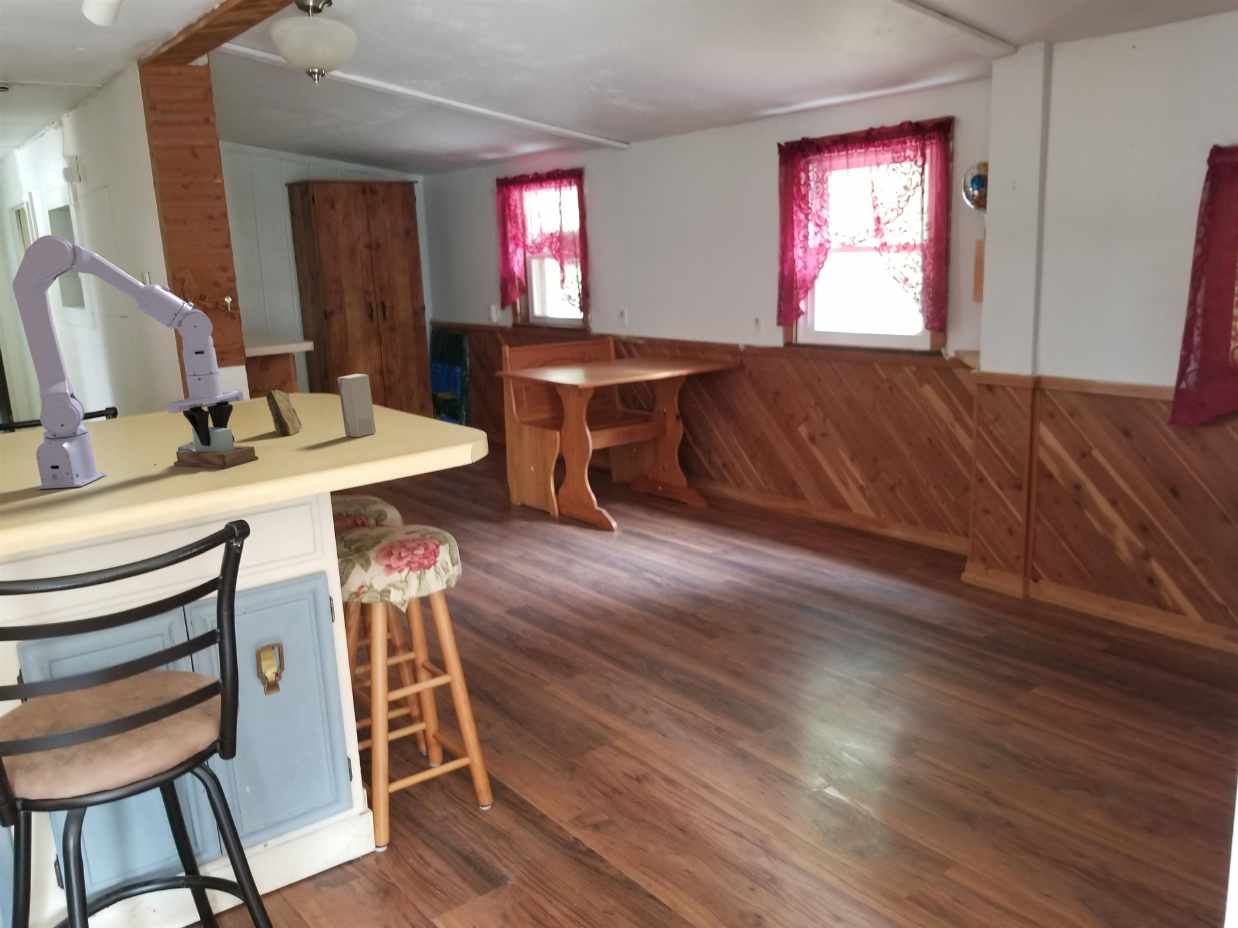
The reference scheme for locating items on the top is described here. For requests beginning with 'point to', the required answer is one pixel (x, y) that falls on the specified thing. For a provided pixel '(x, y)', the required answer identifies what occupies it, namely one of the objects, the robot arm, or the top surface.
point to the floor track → (216, 458)
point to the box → (356, 405)
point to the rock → (283, 413)
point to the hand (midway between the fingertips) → (213, 443)
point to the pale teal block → (216, 441)
